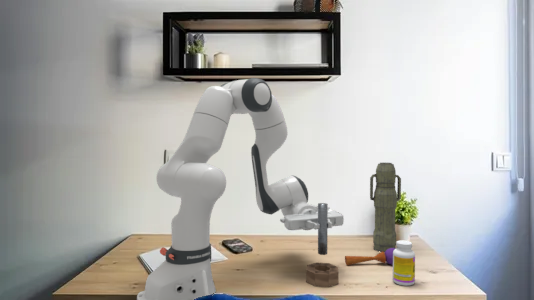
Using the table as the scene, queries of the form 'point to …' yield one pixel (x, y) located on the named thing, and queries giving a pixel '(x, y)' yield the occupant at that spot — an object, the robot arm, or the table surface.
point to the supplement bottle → (404, 263)
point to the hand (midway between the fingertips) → (324, 226)
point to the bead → (322, 274)
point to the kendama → (372, 258)
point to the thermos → (385, 206)
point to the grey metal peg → (322, 228)
